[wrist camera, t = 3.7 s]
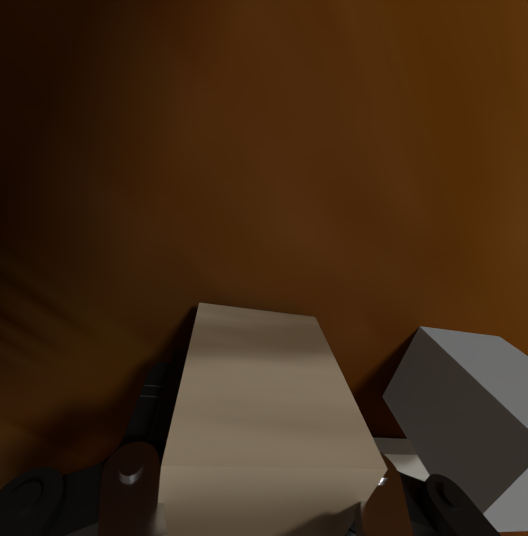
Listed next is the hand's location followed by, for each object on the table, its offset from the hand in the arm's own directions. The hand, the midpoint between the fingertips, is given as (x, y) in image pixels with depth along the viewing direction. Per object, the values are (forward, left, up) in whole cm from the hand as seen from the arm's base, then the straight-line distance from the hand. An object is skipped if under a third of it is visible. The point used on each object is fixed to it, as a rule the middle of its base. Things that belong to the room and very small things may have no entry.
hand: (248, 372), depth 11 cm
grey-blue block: (0, +11, -2) cm, 11 cm away
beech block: (0, 0, -1) cm, 1 cm away
